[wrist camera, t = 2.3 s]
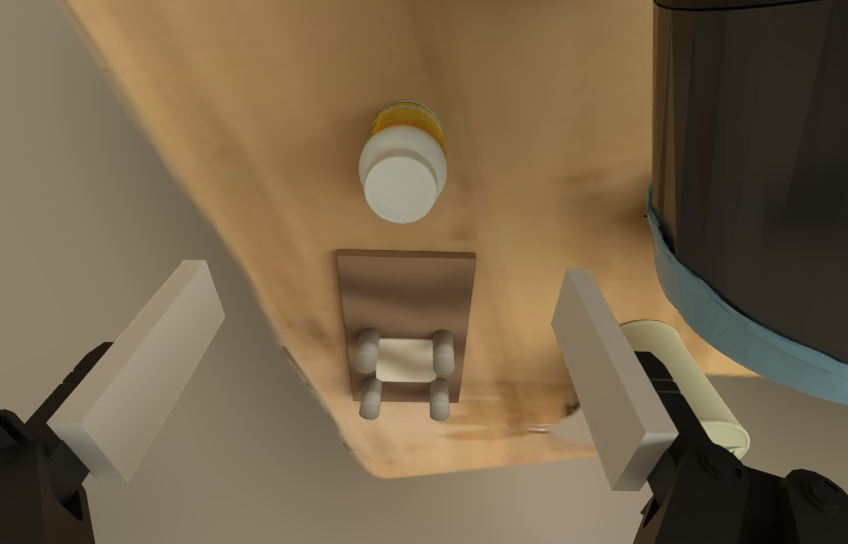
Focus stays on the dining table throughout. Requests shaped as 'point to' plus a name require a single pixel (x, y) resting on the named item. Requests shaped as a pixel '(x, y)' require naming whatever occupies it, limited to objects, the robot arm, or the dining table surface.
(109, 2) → the dining table surface
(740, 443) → the can
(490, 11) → the dining table surface
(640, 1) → the dining table surface
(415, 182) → the supplement bottle
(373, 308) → the pin nest
